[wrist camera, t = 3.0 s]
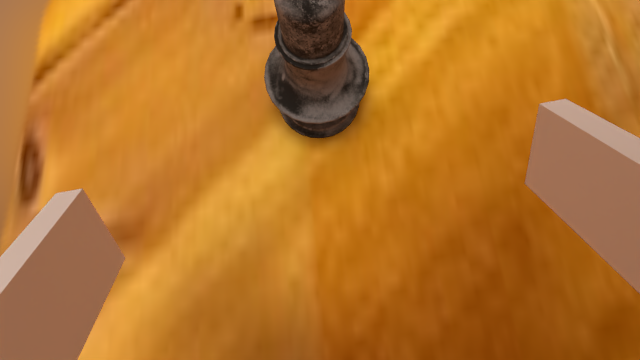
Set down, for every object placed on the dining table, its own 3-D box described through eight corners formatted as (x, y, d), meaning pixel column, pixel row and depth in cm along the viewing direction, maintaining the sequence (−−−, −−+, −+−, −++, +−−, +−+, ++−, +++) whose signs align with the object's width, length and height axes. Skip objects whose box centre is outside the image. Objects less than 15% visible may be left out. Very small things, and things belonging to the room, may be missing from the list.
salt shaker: (371, 65, 25) (405, -108, 13) (355, 149, 23) (378, 45, 12) (284, 51, 25) (241, -128, 13) (265, 133, 24) (199, 17, 12)
